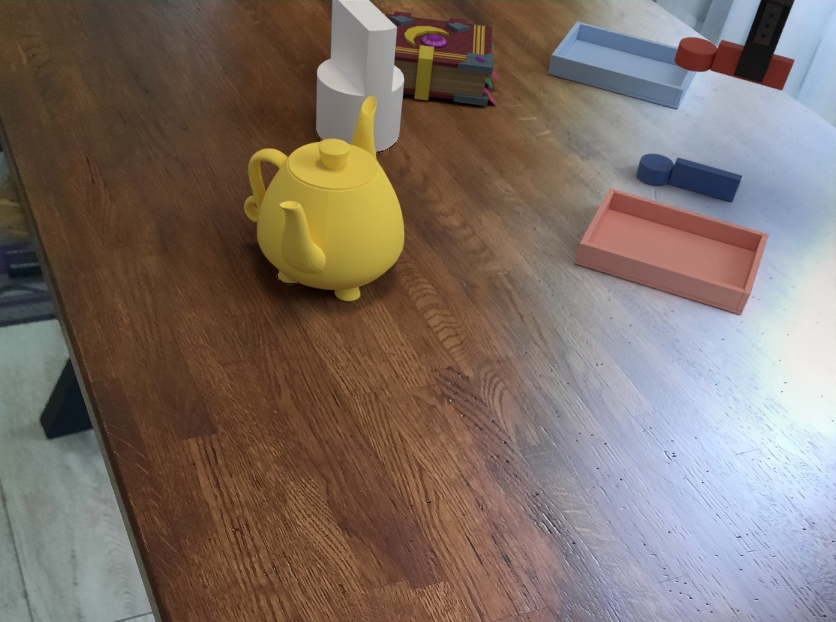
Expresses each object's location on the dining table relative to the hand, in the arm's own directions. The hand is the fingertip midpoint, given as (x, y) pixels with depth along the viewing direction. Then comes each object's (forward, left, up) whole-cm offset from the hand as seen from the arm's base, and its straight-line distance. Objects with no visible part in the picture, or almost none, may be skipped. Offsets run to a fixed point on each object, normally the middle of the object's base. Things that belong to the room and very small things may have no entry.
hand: (750, 73), depth 88 cm
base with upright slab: (+37, +7, -13) cm, 40 cm away
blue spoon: (+2, -2, -13) cm, 13 cm away
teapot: (+30, +31, -13) cm, 45 cm away
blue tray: (+15, -24, -13) cm, 31 cm away
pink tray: (+1, +13, -13) cm, 18 cm away
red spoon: (+2, 0, -1) cm, 2 cm away
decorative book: (+35, -9, -13) cm, 38 cm away
